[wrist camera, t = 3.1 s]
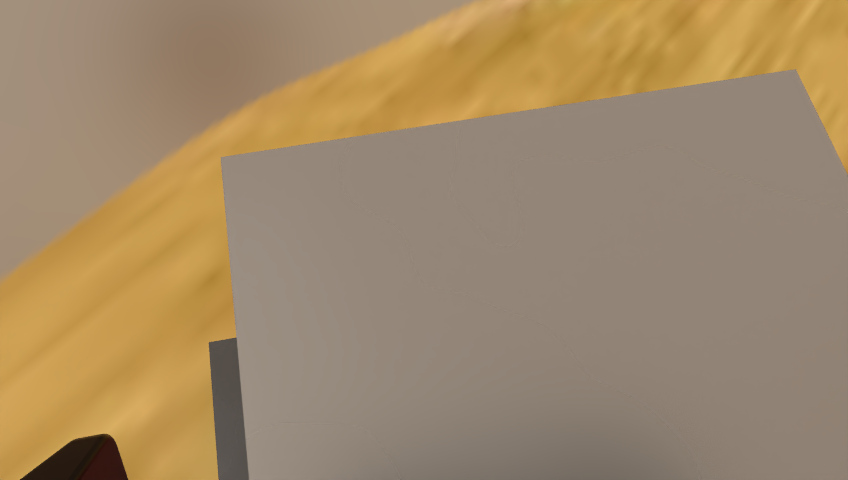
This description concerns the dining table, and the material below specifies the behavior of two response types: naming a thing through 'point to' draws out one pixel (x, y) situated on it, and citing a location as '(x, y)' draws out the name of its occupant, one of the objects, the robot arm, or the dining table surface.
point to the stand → (228, 410)
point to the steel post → (550, 294)
